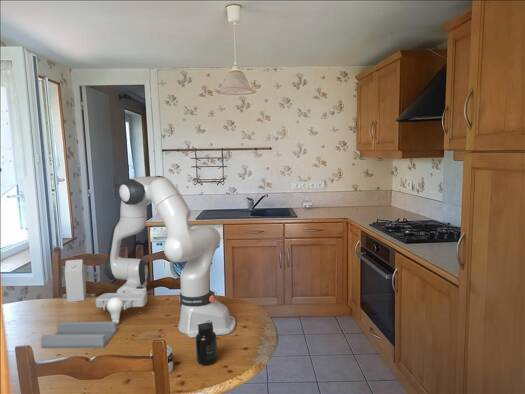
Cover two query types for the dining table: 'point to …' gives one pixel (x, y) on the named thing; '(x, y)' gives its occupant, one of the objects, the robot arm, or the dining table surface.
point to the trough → (80, 335)
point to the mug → (170, 358)
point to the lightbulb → (115, 308)
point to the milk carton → (75, 280)
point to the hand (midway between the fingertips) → (114, 308)
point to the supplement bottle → (206, 344)
